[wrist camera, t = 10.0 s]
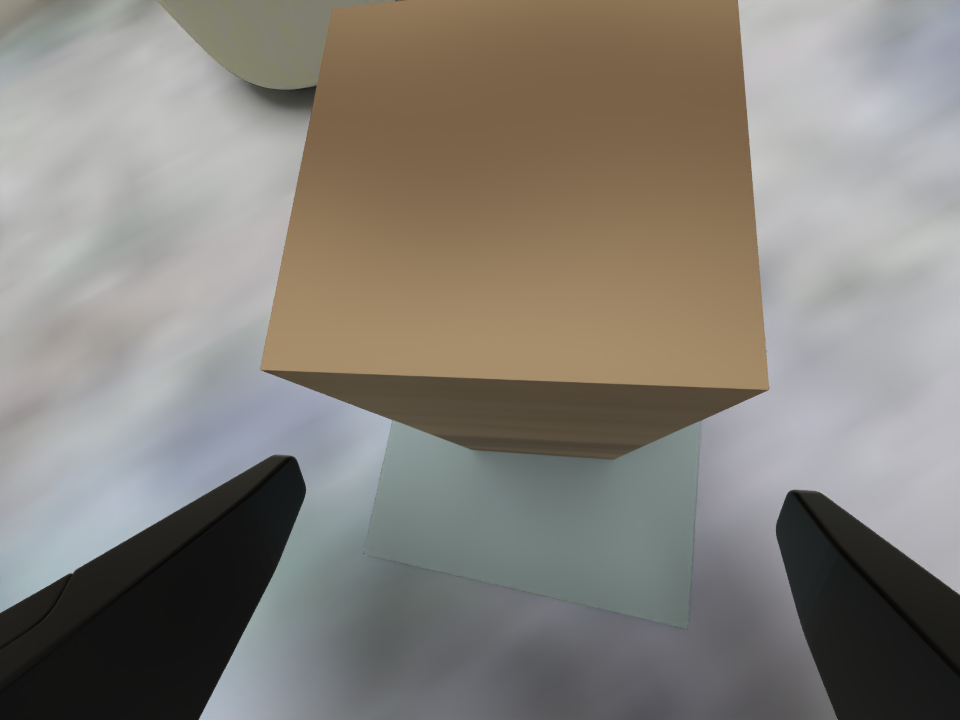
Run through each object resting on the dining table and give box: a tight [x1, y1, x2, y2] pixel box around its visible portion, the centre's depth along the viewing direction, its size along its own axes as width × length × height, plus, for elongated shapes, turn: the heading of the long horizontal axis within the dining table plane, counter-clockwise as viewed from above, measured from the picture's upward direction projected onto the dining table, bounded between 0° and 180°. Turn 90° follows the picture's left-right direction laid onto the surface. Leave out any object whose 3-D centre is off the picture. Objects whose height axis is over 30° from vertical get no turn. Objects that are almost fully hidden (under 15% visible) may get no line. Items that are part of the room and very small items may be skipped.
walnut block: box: [260, 0, 769, 460], centre depth 11 cm, size 5×5×12 cm
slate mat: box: [363, 420, 701, 629], centre depth 17 cm, size 14×11×1 cm
